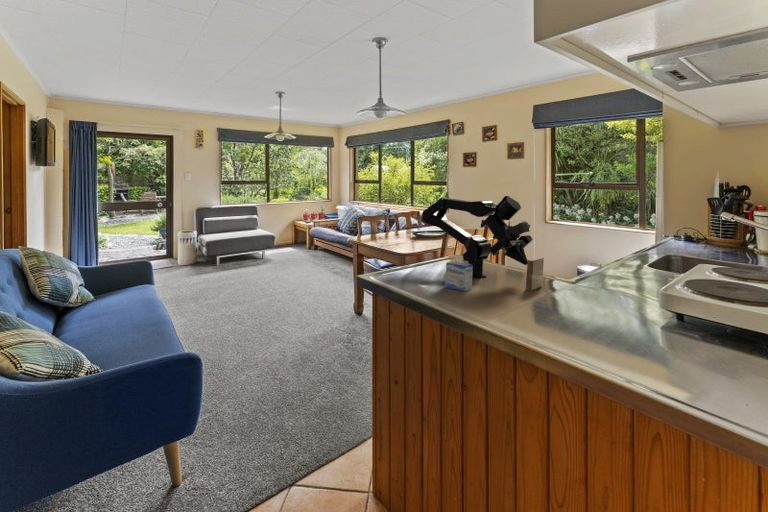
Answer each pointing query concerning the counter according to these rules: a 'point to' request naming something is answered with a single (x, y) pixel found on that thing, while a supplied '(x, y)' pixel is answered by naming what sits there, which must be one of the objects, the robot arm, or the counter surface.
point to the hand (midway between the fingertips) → (526, 264)
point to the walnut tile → (534, 273)
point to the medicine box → (458, 276)
